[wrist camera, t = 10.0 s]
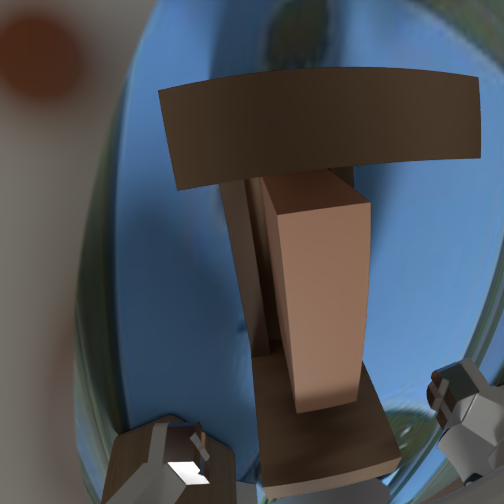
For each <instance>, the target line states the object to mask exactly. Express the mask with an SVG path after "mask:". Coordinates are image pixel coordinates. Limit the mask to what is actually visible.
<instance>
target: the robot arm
mask: <svg viewBox="0 0 504 504" xmlns="http://www.w3.org/2000/svg"><path fill="white" fill-rule="evenodd" d="M431 379H432V382H431V383H430V384H429V385H428V388H427V400H428V403H429V405H430V407H431V409H433V410H435V411H437V415H436V419H437V421H438V422H439V424H440V426H441V428H442V430H446V429H448V428H450V429H449V430H448V431H447V432H446V434H445V435H444V436H443V437H442V439H441V440H440V442H439V444H438V449H439V450H440V451H441V452H442V453H443V454H444V455H445V456H446V457H447V458H448V460H449V461H450V462H451V463H452V465H453V466H454V467H455V469H456V470H457V472H458V474H459V475H460V477H461V478H462V480H463V482H464V487H463V488H461V489H459V490H457V491H455V492H453V493H451V494H449V495H447V496H444V497H442V498H440V499H438V500H436V501H433V502H431V503H429V504H504V385H501V386H499V387H496V386H494V385H493V386H490V385H489V383H488V382H487V380H486V379H485V378H484V376H483V375H482V373H481V372H480V371H479V369H478V368H477V367H476V365H475V364H474V362H473V361H472V360H471V359H470V358H465V359H463V360H460V361H458V362H455V363H452V364H450V365H447V366H445V367H442V368H440V369H437V370H435V371H434V372H433V373H432V375H431ZM209 458H210V446H209V441H208V438H207V435H206V434H205V433H204V432H202V426H201V425H200V423H199V422H182V423H155V425H154V427H153V431H152V437H151V443H150V449H149V456H148V462H147V463H143V464H142V465H141V466H140V467H139V469H138V470H137V471H136V472H135V473H134V474H133V475H132V476H131V477H130V478H129V479H128V480H127V482H126V483H125V484H124V485H123V486H122V487H121V488H120V489H119V490H118V491H117V492H116V493H115V494H114V495H113V496H112V497H111V499H110V500H109V501H108V502H107V503H106V504H174V503H175V502H176V501H177V499H178V498H179V496H180V495H181V493H182V492H183V490H184V489H185V487H186V485H189V484H209V483H210V467H209V466H208V464H207V463H206V461H207V460H208V459H209Z"/></svg>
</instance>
